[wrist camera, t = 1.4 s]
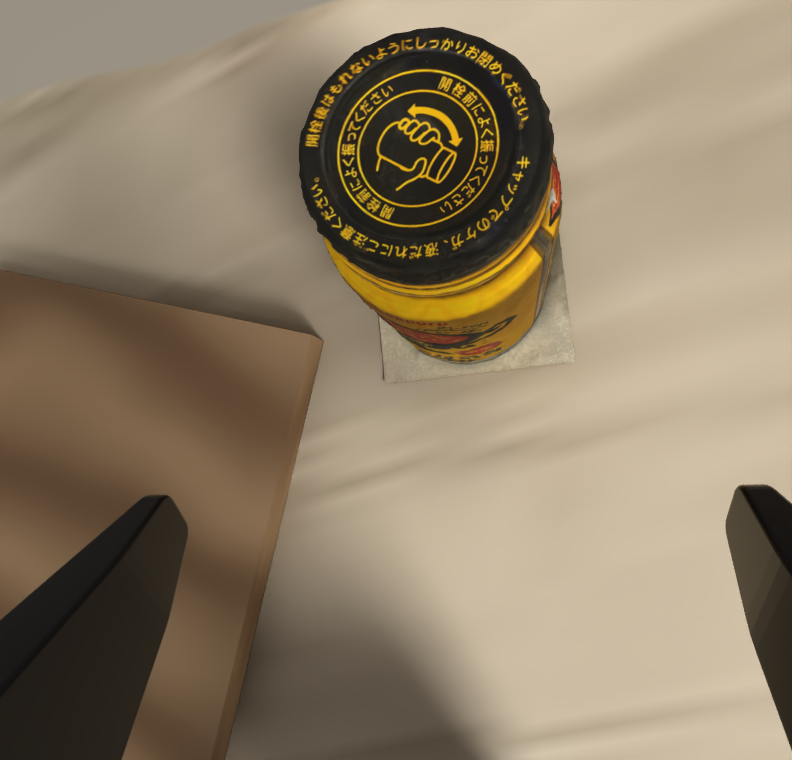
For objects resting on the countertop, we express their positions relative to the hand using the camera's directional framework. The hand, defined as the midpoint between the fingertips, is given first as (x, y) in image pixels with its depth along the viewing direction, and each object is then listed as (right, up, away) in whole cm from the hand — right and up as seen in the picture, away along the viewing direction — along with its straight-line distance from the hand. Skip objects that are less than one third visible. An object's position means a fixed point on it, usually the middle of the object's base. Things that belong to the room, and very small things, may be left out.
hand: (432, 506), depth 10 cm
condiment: (+2, +6, +14) cm, 16 cm away
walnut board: (-13, -3, +16) cm, 21 cm away
